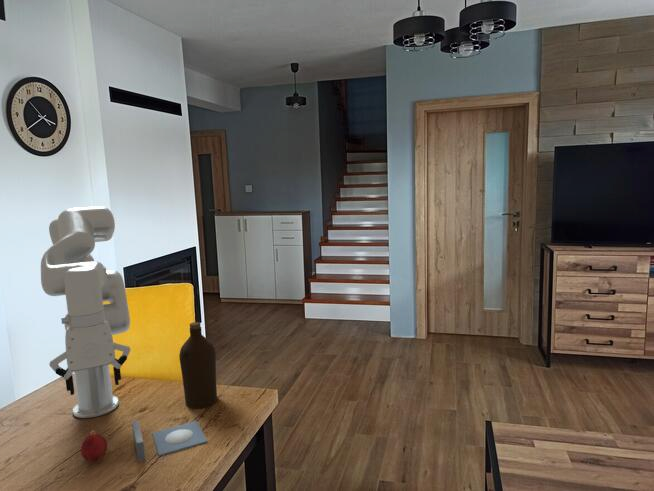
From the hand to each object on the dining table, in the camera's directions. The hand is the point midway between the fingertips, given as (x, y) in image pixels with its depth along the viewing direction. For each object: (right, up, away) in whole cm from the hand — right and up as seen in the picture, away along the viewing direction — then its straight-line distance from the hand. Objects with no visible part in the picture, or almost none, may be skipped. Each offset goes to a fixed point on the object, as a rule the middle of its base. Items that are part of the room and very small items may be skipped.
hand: (95, 387), depth 112 cm
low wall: (+8, -18, +7) cm, 21 cm away
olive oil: (+17, -14, +32) cm, 39 cm away
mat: (+17, -17, +11) cm, 26 cm away
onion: (-1, -19, +2) cm, 19 cm away
